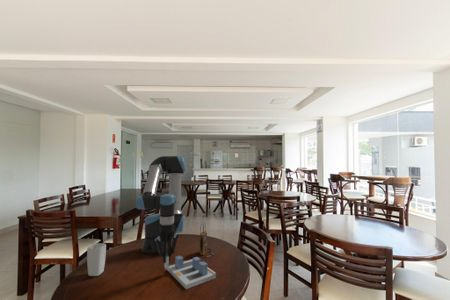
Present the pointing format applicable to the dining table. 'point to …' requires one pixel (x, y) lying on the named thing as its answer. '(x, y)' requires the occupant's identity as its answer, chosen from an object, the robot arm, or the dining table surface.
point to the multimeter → (203, 242)
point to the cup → (96, 259)
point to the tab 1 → (179, 262)
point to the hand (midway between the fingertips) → (166, 268)
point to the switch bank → (190, 275)
